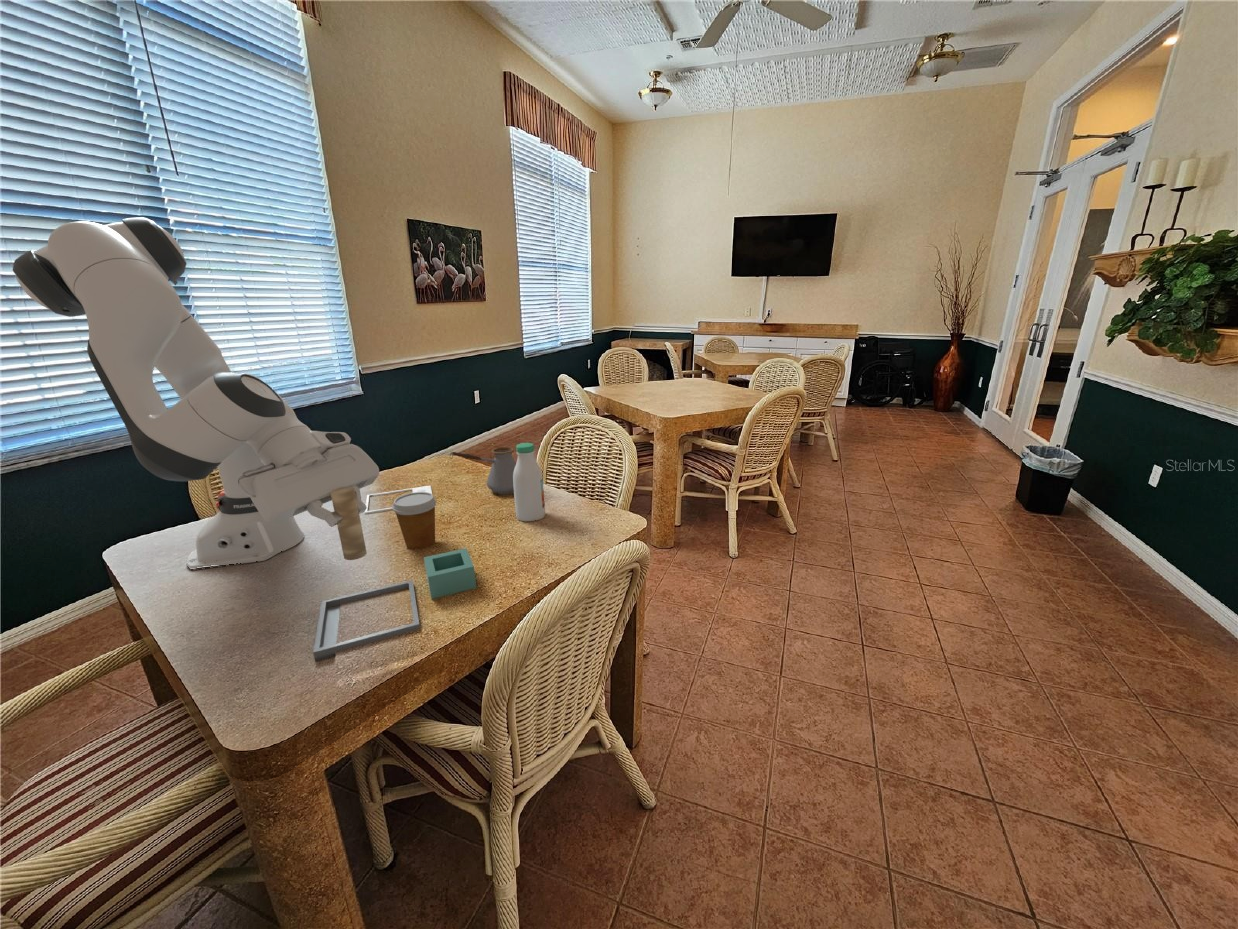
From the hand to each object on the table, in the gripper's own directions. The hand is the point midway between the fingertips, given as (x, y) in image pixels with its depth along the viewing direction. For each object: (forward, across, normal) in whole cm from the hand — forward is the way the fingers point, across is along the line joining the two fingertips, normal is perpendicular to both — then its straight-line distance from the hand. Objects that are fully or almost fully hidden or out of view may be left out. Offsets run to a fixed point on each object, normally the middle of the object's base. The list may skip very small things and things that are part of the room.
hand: (350, 517), depth 83 cm
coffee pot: (+3, +60, +27) cm, 66 cm away
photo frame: (-13, +47, +43) cm, 66 cm away
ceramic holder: (+19, +15, +10) cm, 26 cm away
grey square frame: (+14, 0, +15) cm, 21 cm away
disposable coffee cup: (+6, +27, +24) cm, 36 cm away
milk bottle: (+17, +50, +12) cm, 54 cm away
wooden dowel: (+5, 0, +6) cm, 7 cm away
